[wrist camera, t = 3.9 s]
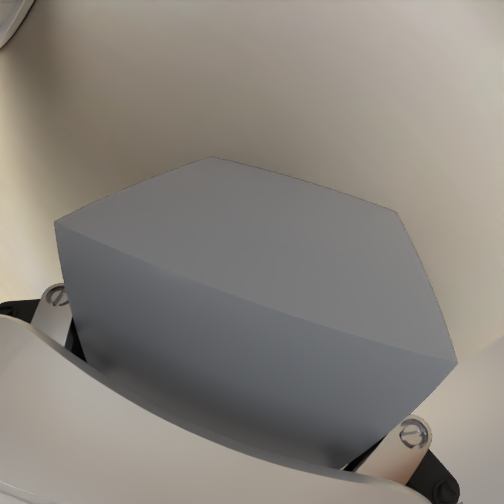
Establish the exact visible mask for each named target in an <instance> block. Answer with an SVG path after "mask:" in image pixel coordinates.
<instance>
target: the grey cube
mask: <svg viewBox="0 0 504 504" xmlns="http://www.w3.org/2000/svg"><path fill="white" fill-rule="evenodd" d="M54 226H55V234H56V241H57V247H58V253H59V259H60V264H61V270H62V275H63V279H64V284H65V288H66V293H67V297H68V301H69V305H70V309H71V313H72V316H73V320H74V323H75V327H76V330H77V333H78V337H79V340H80V343H81V346H82V349H83V352H84V355H85V358H86V361H87V363H88V364H89V365H90V366H91V367H93V368H94V369H96V370H97V371H99V372H101V373H102V374H104V375H105V376H107V377H108V378H110V379H112V380H113V381H115V382H116V383H118V384H120V385H121V386H123V387H125V388H126V389H128V390H130V391H132V392H133V393H135V394H137V395H139V396H140V397H142V398H144V399H146V400H148V401H150V402H151V403H153V404H155V405H157V406H159V407H161V408H163V409H165V410H167V411H169V412H171V413H173V414H175V415H177V416H179V417H181V418H183V419H186V420H188V421H190V422H192V423H194V424H197V425H199V426H201V427H203V428H206V429H208V430H211V431H213V432H215V433H218V434H220V435H223V436H226V437H228V438H231V439H233V440H236V441H239V442H242V443H244V444H247V445H250V446H253V447H256V448H259V449H262V450H265V451H268V452H271V453H275V454H278V455H282V456H285V457H289V458H292V459H296V460H300V461H304V462H308V463H312V464H316V465H320V466H324V467H329V468H334V469H338V470H340V469H341V468H343V467H344V466H345V465H347V464H348V463H350V462H351V461H353V460H354V459H355V458H357V457H358V456H360V455H361V454H362V453H364V452H365V451H366V450H368V449H369V448H370V447H372V446H373V445H374V444H375V443H377V442H378V441H379V440H380V439H382V438H383V437H384V436H385V435H387V434H388V433H389V432H390V431H391V430H393V429H394V428H395V427H396V426H397V425H398V424H399V423H401V422H402V421H403V420H404V419H405V418H406V417H407V416H408V415H409V414H410V413H411V412H413V411H414V410H415V409H416V408H417V407H418V406H419V405H420V404H421V403H422V402H423V401H424V400H425V399H426V398H427V397H428V396H429V395H430V394H431V393H432V392H433V391H434V390H435V389H436V387H437V386H438V385H439V384H440V383H441V382H442V381H443V380H444V379H445V378H446V377H447V375H448V374H449V373H450V372H451V371H452V370H453V369H454V367H455V366H456V365H457V364H458V362H457V358H456V355H455V351H454V348H453V345H452V341H451V338H450V335H449V332H448V329H447V326H446V323H445V320H444V318H443V315H442V312H441V309H440V307H439V304H438V301H437V299H436V296H435V294H434V291H433V289H432V286H431V284H430V281H429V279H428V277H427V274H426V272H425V270H424V267H423V265H422V263H421V261H420V258H419V256H418V254H417V252H416V250H415V248H414V246H413V244H412V241H411V239H410V237H409V235H408V233H407V231H406V229H405V227H404V225H403V224H402V222H401V220H400V218H399V216H398V214H397V212H395V211H392V210H389V209H387V208H384V207H381V206H379V205H376V204H373V203H370V202H367V201H365V200H362V199H359V198H356V197H353V196H350V195H347V194H344V193H341V192H338V191H335V190H332V189H329V188H325V187H322V186H319V185H316V184H313V183H309V182H306V181H303V180H299V179H296V178H292V177H289V176H285V175H282V174H278V173H275V172H271V171H267V170H263V169H260V168H256V167H252V166H248V165H244V164H240V163H236V162H232V161H228V160H223V159H219V158H215V157H208V158H205V159H202V160H199V161H196V162H193V163H191V164H188V165H185V166H182V167H179V168H176V169H174V170H171V171H168V172H165V173H163V174H160V175H157V176H155V177H152V178H150V179H147V180H145V181H142V182H140V183H137V184H135V185H132V186H130V187H127V188H125V189H123V190H120V191H118V192H116V193H113V194H111V195H109V196H106V197H104V198H102V199H100V200H98V201H95V202H93V203H91V204H89V205H87V206H85V207H82V208H80V209H78V210H76V211H74V212H72V213H70V214H68V215H66V216H64V217H62V218H60V219H58V220H56V221H54Z"/></svg>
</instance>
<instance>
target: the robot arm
mask: <svg viewBox="0 0 504 504" xmlns="http://www.w3.org/2000/svg"><path fill="white" fill-rule="evenodd" d="M33 2H34V0H0V48H1V47H2V46H3V45H4V44H5V43H6V42H7V41H8V40H9V39H10V38H11V36H12V35H13V34H14V32H15V31H16V30H17V28H18V27H19V25H20V24H21V22H22V20H23V19H24V17H25V16H26V14H27V12H28V10H29V9H30V7H31V5H32V3H33ZM431 442H432V433H431V429H430V427H429V425H428V424H427V423H426V422H425V421H424V420H423V419H422V418H420V417H418V416H415V415H410V414H409V415H408V416H407V417H406V418H405V419H404V420H403V421H402V422H401V423H399V424H398V425H397V426H396V427H395V428H394V429H393V430H391V431H390V432H389V433H388V434H387V435H385V436H384V437H383V438H382V439H380V440H379V441H378V442H377V443H375V444H374V445H373V446H372V447H370V448H369V449H368V450H366V451H365V452H364V453H362V454H361V455H360V456H358V457H357V458H355V459H354V460H353V461H351V462H350V463H348V464H347V465H345V466H344V467H343V468H342V469H341V470H338V469H334V468H329V467H324V466H320V465H316V464H312V463H308V462H304V461H300V460H296V459H292V458H289V457H285V456H282V455H278V454H275V453H271V452H268V451H265V450H262V449H259V448H256V447H253V446H250V445H247V444H244V443H242V442H239V441H236V440H233V439H231V438H228V437H226V436H223V435H220V434H218V433H215V432H213V431H211V430H208V429H206V428H203V427H201V426H199V425H197V424H194V423H192V422H190V421H188V420H186V419H183V418H181V417H179V416H177V415H175V414H173V413H171V412H169V411H167V410H165V409H163V408H161V407H159V406H157V405H155V404H153V403H151V402H150V401H148V400H146V399H144V398H142V397H140V396H139V395H137V394H135V393H133V392H132V391H130V390H128V389H126V388H125V387H123V386H121V385H120V384H118V383H116V382H115V381H113V380H112V379H110V378H108V377H107V376H105V375H104V374H102V373H101V372H99V371H97V370H96V369H94V368H93V367H91V366H90V365H89V364H88V363H87V361H86V358H85V355H84V352H83V349H82V346H81V343H80V340H79V337H78V333H77V330H76V327H75V323H74V320H73V316H72V313H71V309H70V305H69V301H68V297H67V293H66V288H65V284H64V283H58V284H55V285H52V286H50V287H49V288H48V289H46V290H45V292H44V293H43V295H42V297H41V299H34V300H21V301H8V302H4V303H1V304H0V504H463V503H462V502H461V503H458V499H459V495H460V489H459V485H458V483H457V481H456V480H455V478H454V477H453V476H452V475H451V474H450V473H449V471H448V470H447V469H446V468H445V467H444V466H443V464H442V463H441V462H440V461H439V460H438V459H437V458H436V457H435V455H434V454H433V453H432V452H431V451H430V450H429V447H430V444H431Z"/></svg>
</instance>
